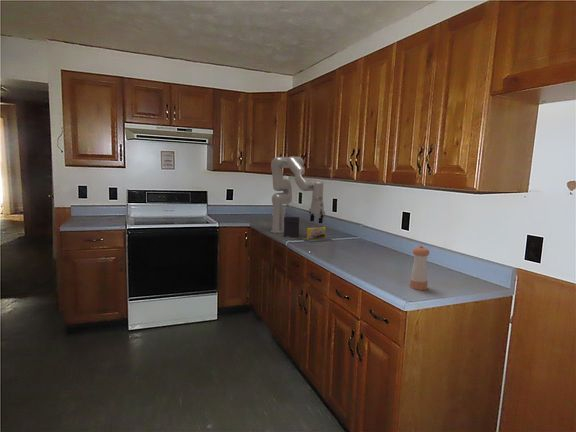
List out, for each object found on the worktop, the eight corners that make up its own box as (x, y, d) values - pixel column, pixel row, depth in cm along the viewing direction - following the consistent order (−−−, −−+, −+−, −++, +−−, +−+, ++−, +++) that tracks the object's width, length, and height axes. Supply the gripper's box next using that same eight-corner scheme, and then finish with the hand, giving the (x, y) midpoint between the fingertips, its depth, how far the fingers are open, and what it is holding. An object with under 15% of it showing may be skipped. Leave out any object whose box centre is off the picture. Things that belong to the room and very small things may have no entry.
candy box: (308, 240, 262) (308, 228, 261) (306, 239, 264) (306, 228, 263) (325, 237, 271) (325, 226, 270) (323, 237, 273) (324, 226, 272)
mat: (300, 239, 267) (300, 238, 267) (321, 237, 278) (321, 236, 278) (311, 242, 258) (311, 241, 257) (331, 239, 268) (331, 238, 268)
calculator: (298, 236, 279) (299, 217, 277) (297, 237, 275) (298, 217, 273) (285, 235, 282) (285, 216, 280) (283, 236, 278) (284, 216, 275)
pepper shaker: (420, 291, 160) (423, 248, 158) (406, 286, 166) (409, 245, 164) (430, 288, 165) (433, 246, 162) (416, 283, 170) (419, 243, 168)
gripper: (329, 200, 259) (327, 223, 262) (314, 197, 273) (312, 220, 276) (321, 200, 255) (319, 224, 257) (306, 197, 269) (304, 220, 271)
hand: (316, 222), depth 266 cm, fingers open, 9 cm apart
